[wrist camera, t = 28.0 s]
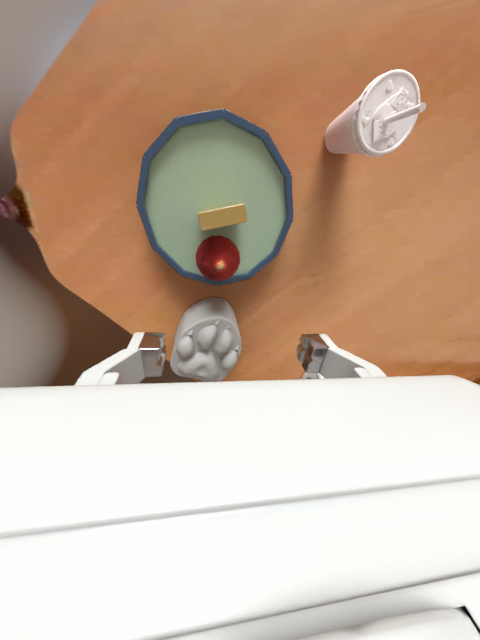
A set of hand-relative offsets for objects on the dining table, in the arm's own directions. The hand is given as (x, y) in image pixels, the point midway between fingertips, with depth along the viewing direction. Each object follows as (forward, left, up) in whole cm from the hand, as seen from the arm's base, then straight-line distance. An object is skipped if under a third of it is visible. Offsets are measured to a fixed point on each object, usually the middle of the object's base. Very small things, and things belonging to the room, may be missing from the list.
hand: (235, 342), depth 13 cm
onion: (0, 0, -23) cm, 23 cm away
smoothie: (+20, -9, -25) cm, 34 cm away
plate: (+5, +2, -23) cm, 24 cm away
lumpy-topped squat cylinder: (-14, -4, -25) cm, 29 cm away
